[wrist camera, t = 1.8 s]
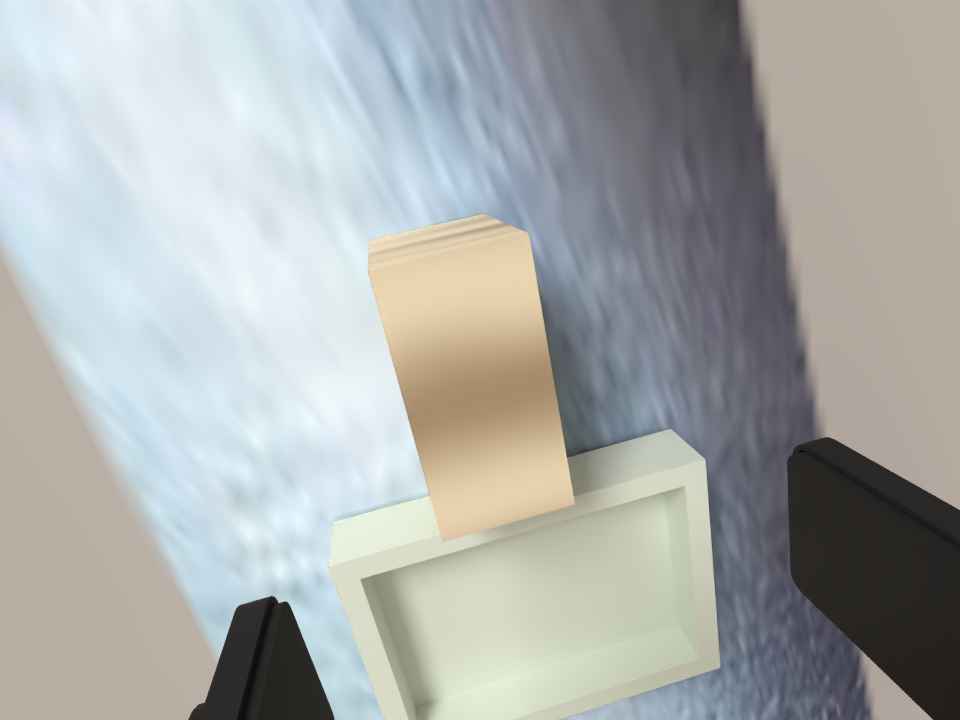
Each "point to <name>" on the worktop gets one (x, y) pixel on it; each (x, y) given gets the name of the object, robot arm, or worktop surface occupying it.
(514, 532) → the tray
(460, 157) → the worktop surface
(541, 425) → the block
